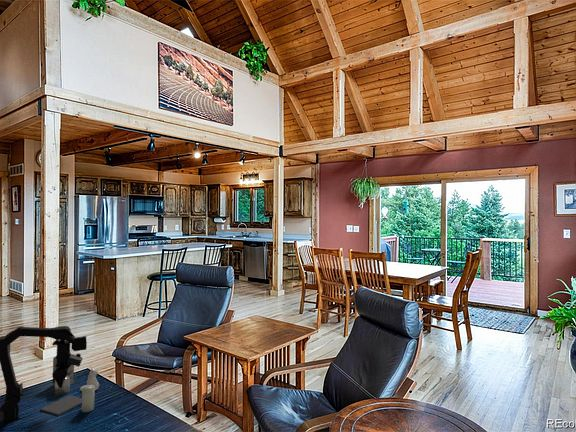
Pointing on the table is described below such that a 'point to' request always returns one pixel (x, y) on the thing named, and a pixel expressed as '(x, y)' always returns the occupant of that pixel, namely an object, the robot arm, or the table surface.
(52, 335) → the robot arm
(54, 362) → the coffee box
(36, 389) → the table surface
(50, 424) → the table surface
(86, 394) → the light bulb
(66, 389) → the tin
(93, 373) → the sitting furry creature
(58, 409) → the mat
